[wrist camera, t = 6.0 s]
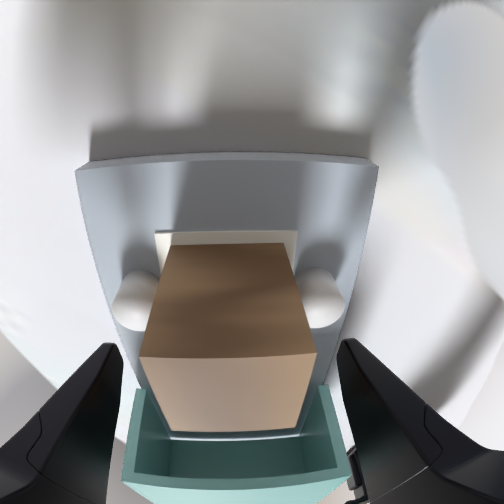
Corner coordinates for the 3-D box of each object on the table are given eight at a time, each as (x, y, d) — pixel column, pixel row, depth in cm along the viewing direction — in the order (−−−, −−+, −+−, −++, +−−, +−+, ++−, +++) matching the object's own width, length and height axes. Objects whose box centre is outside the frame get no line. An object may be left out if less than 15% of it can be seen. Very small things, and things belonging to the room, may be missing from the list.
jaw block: (283, 242, 11) (317, 352, 6) (276, 324, 13) (295, 427, 8) (170, 245, 10) (138, 356, 6) (183, 326, 12) (171, 430, 8)
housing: (327, 384, 15) (351, 475, 10) (305, 438, 19) (317, 502, 14) (136, 388, 15) (121, 480, 10) (165, 441, 19) (160, 507, 14)
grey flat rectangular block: (365, 158, 10) (399, 180, 8) (292, 444, 23) (296, 468, 21) (88, 161, 10) (53, 185, 7) (179, 447, 23) (177, 471, 20)
